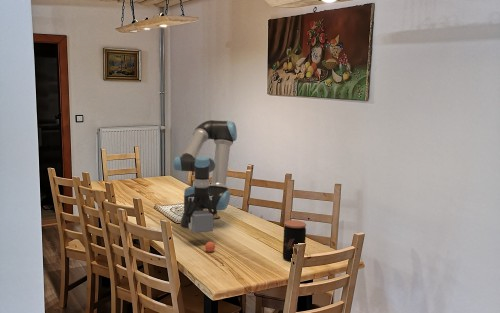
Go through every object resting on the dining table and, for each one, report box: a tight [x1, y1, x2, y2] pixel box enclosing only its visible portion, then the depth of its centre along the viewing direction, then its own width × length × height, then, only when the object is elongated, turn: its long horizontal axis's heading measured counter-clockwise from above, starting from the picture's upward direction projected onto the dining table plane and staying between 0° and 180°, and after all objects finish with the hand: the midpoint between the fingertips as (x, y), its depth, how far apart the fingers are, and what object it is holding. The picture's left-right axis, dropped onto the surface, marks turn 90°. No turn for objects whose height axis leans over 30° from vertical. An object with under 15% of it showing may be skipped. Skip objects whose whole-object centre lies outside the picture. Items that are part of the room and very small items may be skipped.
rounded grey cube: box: [187, 209, 214, 234], centre depth 250 cm, size 10×10×9 cm
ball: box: [204, 241, 216, 253], centre depth 239 cm, size 5×5×5 cm
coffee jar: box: [282, 219, 307, 263], centre depth 232 cm, size 11×11×18 cm
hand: (200, 228), depth 250 cm, fingers closed on rounded grey cube, 10 cm apart
